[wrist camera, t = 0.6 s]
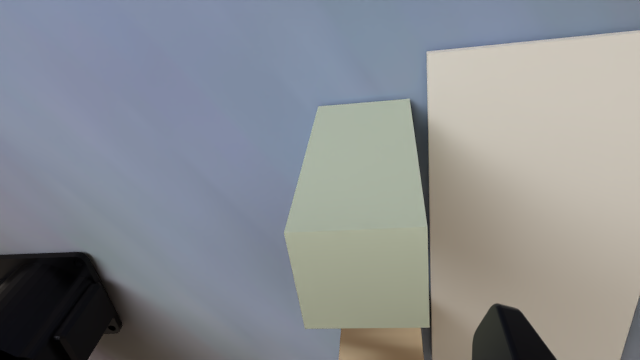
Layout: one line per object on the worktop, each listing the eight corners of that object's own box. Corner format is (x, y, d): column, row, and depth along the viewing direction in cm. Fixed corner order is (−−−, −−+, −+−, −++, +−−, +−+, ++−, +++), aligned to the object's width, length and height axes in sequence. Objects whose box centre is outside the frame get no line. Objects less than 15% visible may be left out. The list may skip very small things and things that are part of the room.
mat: (431, 356, 29) (432, 360, 29) (426, 51, 19) (427, 53, 19) (617, 356, 27) (619, 361, 27) (715, 22, 18) (720, 24, 17)
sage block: (329, 182, 23) (304, 328, 16) (318, 106, 21) (283, 232, 13) (412, 177, 22) (429, 327, 15) (409, 98, 20) (427, 226, 13)
